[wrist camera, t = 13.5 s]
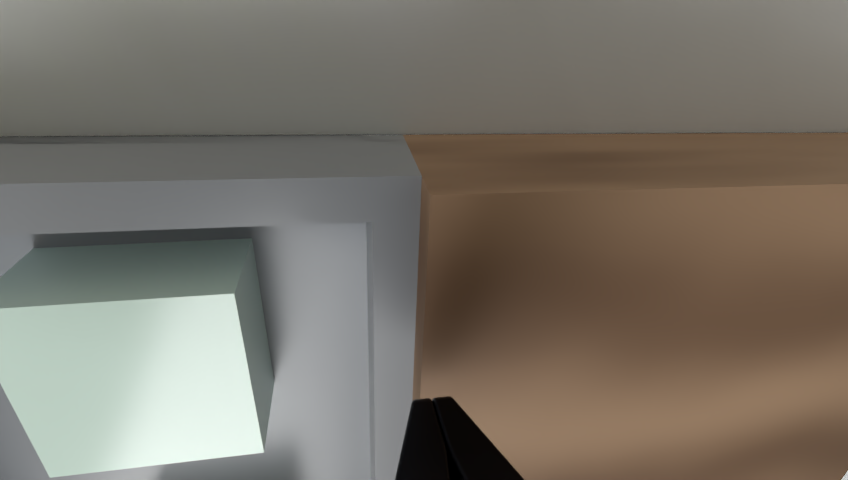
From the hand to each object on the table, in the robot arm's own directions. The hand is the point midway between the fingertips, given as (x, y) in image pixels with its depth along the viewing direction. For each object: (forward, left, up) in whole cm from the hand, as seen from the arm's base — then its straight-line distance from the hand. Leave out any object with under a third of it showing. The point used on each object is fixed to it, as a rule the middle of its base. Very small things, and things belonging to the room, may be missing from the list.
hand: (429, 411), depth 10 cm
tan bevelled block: (-6, -7, -5) cm, 11 cm away
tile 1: (-1, +6, -2) cm, 7 cm away
